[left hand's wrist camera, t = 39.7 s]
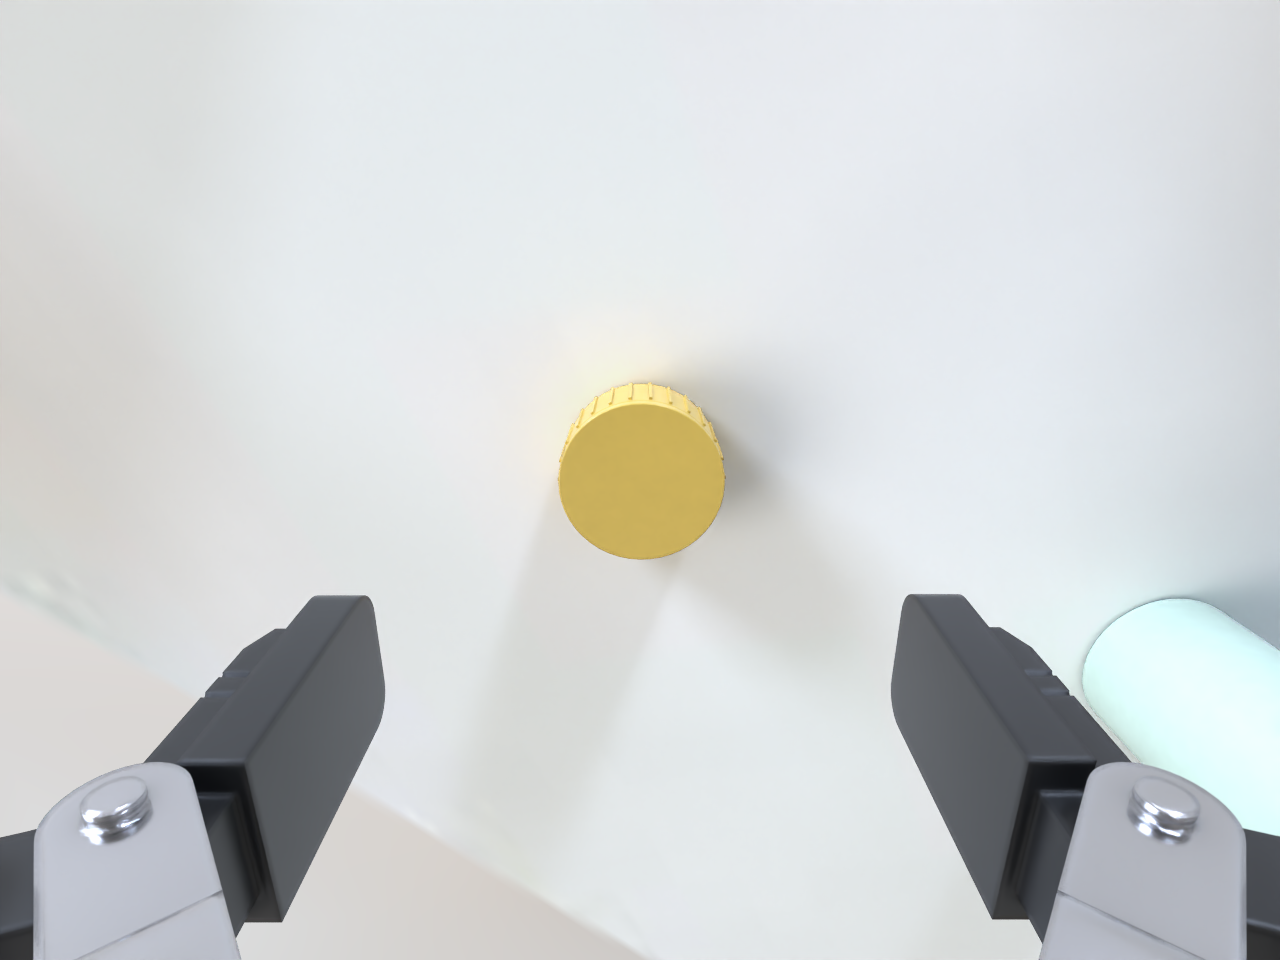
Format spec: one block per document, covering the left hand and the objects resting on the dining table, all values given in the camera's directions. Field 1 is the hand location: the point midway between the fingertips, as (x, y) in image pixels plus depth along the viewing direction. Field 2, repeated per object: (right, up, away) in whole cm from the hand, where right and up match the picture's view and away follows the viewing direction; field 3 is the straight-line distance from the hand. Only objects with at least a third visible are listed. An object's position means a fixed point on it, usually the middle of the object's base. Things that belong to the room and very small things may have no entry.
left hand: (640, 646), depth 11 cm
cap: (0, +3, +8) cm, 8 cm away
